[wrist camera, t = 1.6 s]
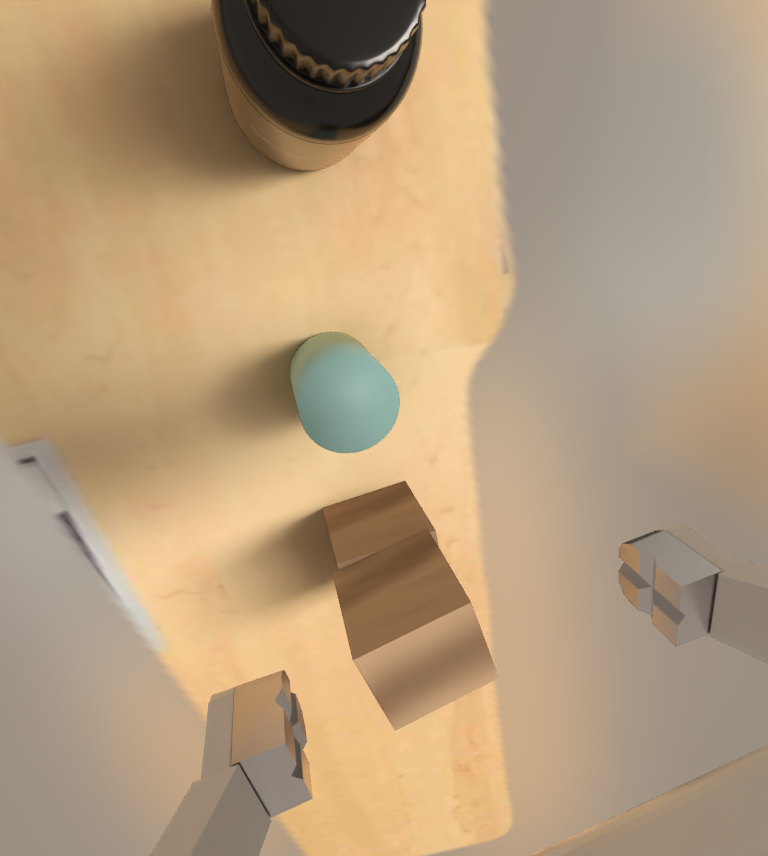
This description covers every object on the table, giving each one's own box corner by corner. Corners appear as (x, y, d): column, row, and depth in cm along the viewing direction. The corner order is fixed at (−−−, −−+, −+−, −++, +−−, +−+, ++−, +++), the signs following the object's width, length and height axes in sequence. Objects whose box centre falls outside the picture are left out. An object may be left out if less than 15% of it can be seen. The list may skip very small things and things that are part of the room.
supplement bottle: (394, 117, 24) (512, 25, 13) (289, 201, 24) (320, 178, 13) (310, -38, 20) (374, -329, 10) (190, 59, 21) (125, -120, 10)
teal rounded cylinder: (278, 344, 27) (286, 373, 21) (361, 322, 27) (389, 344, 22) (303, 421, 29) (315, 465, 23) (379, 398, 29) (407, 436, 24)
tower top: (332, 572, 26) (352, 660, 21) (427, 528, 27) (470, 602, 21) (368, 638, 29) (395, 730, 24) (454, 596, 30) (499, 677, 24)
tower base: (322, 507, 31) (336, 564, 26) (404, 480, 32) (435, 530, 27) (343, 573, 34) (360, 636, 29) (419, 546, 35) (449, 603, 30)
